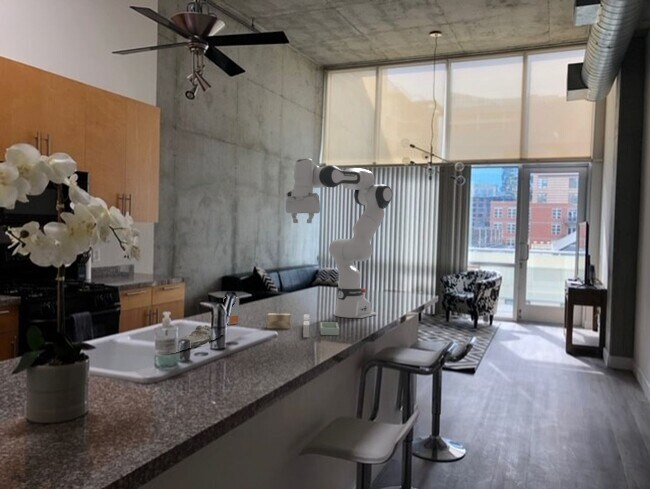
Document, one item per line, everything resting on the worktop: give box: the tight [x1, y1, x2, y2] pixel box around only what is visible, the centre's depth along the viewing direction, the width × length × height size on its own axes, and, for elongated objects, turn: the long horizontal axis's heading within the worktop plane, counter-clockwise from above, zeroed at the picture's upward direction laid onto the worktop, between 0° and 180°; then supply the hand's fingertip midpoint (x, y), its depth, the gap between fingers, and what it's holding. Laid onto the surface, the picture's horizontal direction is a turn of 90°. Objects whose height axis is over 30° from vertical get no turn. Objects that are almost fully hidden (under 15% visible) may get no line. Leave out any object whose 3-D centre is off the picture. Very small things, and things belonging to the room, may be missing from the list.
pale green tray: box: [319, 321, 340, 336], centre depth 223 cm, size 14×8×3 cm, turn 2°
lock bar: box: [266, 312, 291, 329], centre depth 230 cm, size 10×4×6 cm, turn 92°
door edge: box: [302, 313, 310, 338], centre depth 224 cm, size 26×2×5 cm, turn 2°
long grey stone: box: [179, 324, 212, 349], centre depth 197 cm, size 35×5×10 cm
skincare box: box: [223, 296, 240, 326], centre depth 236 cm, size 6×4×12 cm
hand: (302, 223), depth 241 cm, fingers open, 8 cm apart
